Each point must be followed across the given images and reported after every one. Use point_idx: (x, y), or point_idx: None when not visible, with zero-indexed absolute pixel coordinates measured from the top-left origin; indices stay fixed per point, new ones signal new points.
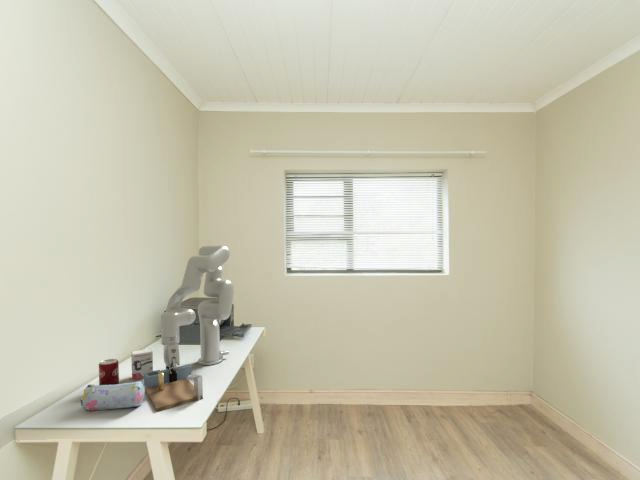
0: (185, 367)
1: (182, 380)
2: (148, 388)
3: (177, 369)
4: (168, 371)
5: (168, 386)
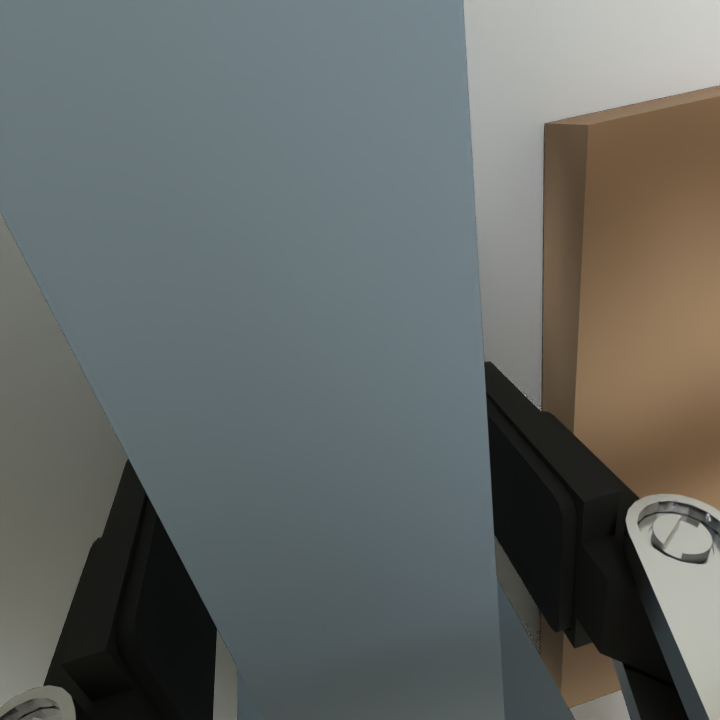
0: (468, 183)
1: (640, 254)
2: (586, 684)
3: (491, 522)
4: (499, 708)
5: (717, 482)
